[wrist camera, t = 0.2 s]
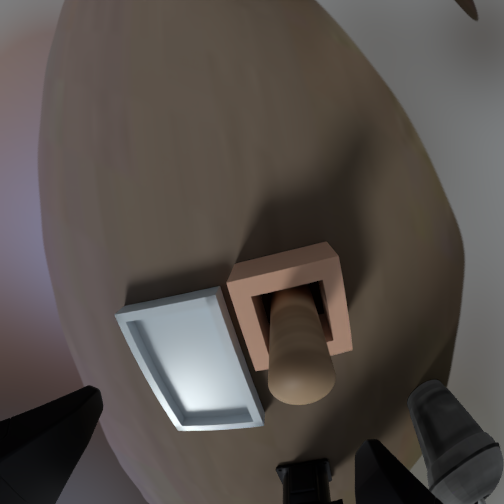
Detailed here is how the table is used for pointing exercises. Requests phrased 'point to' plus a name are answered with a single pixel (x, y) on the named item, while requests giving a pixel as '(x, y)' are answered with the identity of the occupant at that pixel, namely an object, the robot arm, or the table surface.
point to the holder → (282, 277)
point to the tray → (193, 360)
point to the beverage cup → (453, 447)
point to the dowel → (298, 349)
